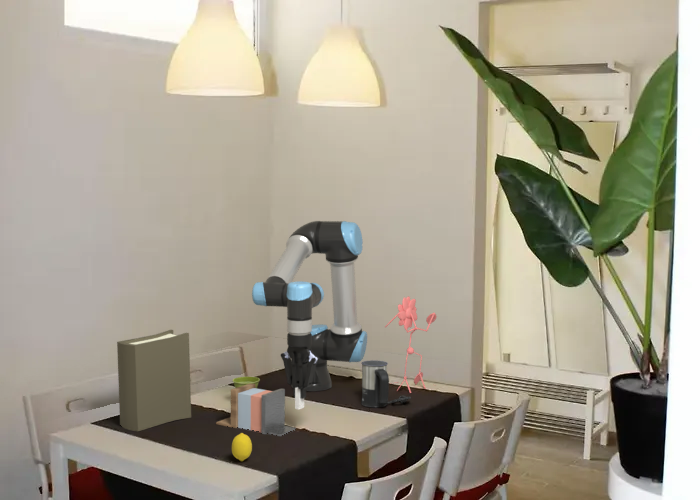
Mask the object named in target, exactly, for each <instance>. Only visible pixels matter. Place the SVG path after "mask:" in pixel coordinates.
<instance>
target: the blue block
mask: <svg viewBox="0 0 700 500" xmlns="http://www.w3.org/2000/svg"><path fill="white" fill-rule="evenodd" d="M266 390H267V389H262V388H258V387H257V388H252V389H249V390H246V391H243V392H240V393H238V428H237V429H242V428H243V430H247V429H249V430H248V431H252V430H251V395H254V394H257V393H260V392H263V391H266Z"/></svg>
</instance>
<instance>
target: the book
mask: <svg viewBox="0 0 700 500" xmlns="http://www.w3.org/2000/svg"><path fill="white" fill-rule="evenodd" d="M116 344H117V348H116V349H117V371H118V372H117V375H118V376H117V377H118V379H117V380H118V401H119V405H118V407H119V426H120V425H121V426H122V427H121V426H120V427H121V428H123V429H124V430H128V431H133V432H140V431H144V430H147V429H150V428H153V427H157V426H161V425H164V424H167V423H170V422H173V421H178V420H183V419H191V418H192V397H191V364H190V363H191V359H190V358H191V357H190V333H189V332H184V333H181V334H177V335H176V334H174V329H169V330H165V331H163V332H158V333H156V334H152V335H147V336H142V337H138V338H131V339H125V340H120V341H116Z"/></svg>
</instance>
